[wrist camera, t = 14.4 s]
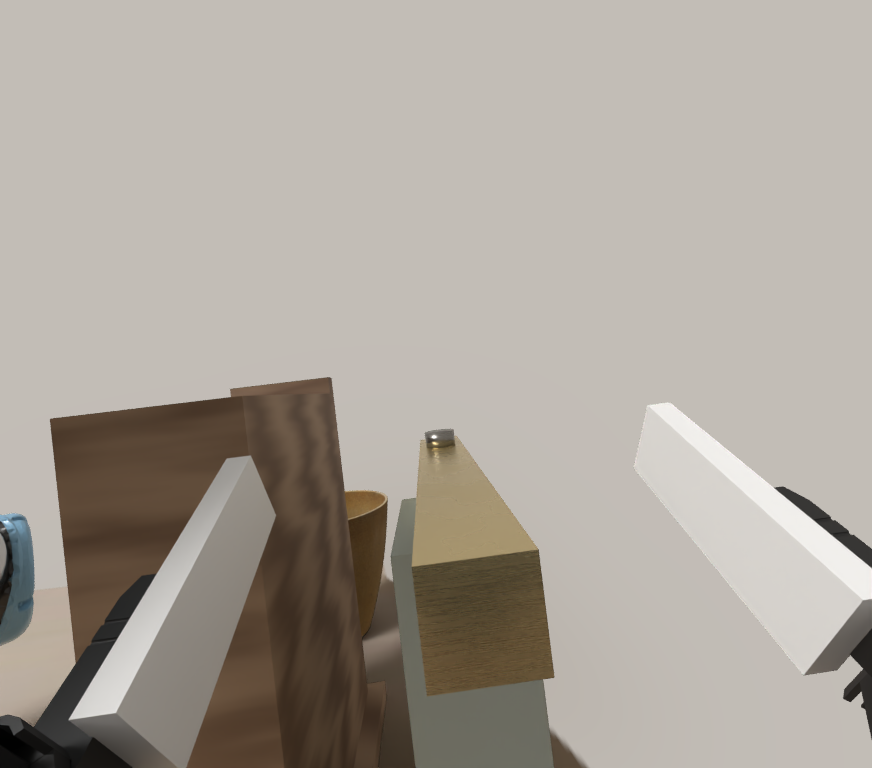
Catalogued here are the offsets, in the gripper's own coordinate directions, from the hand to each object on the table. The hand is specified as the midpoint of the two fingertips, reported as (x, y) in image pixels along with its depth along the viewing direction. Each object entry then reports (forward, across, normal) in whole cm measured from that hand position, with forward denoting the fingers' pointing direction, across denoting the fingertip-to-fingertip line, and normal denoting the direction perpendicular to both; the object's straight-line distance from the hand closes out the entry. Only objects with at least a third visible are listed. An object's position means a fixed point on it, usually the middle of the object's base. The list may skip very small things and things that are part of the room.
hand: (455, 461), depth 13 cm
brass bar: (+6, 0, -10) cm, 12 cm away
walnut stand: (-1, -14, -30) cm, 33 cm away
